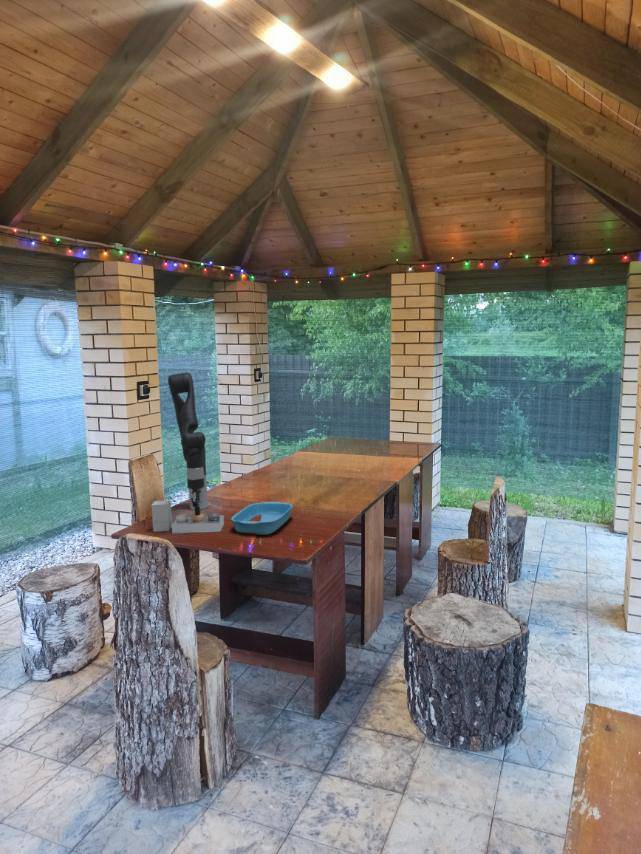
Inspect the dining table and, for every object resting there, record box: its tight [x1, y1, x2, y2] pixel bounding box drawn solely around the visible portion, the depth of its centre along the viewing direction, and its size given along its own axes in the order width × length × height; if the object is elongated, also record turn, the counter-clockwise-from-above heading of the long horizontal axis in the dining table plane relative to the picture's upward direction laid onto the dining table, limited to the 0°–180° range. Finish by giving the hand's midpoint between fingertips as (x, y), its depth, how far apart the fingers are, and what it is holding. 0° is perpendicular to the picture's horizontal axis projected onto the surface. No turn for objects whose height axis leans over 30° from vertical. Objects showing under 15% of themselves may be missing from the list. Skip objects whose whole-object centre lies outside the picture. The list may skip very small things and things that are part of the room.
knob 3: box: [207, 512, 221, 520], centre depth 264 cm, size 5×5×7 cm
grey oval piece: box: [175, 513, 189, 522], centre depth 263 cm, size 5×5×7 cm
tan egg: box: [191, 512, 205, 521], centre depth 263 cm, size 5×5×7 cm
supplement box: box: [150, 499, 173, 533], centre depth 267 cm, size 7×7×13 cm
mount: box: [171, 514, 225, 534], centre depth 264 cm, size 12×21×5 cm, turn 91°
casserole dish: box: [230, 501, 293, 536], centre depth 268 cm, size 37×22×7 cm, turn 166°
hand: (197, 514), depth 263 cm, fingers closed
